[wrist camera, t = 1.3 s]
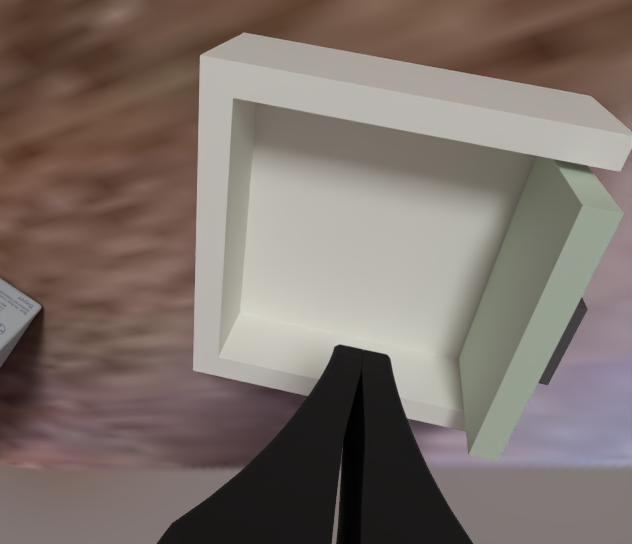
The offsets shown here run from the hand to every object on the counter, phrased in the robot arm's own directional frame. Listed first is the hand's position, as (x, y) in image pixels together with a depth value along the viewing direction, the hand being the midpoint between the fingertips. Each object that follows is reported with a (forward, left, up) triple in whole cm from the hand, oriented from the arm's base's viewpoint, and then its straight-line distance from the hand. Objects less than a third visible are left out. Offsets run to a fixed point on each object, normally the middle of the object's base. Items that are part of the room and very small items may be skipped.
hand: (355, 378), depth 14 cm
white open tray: (0, 0, -9) cm, 9 cm away
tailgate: (-5, -2, -8) cm, 9 cm away
